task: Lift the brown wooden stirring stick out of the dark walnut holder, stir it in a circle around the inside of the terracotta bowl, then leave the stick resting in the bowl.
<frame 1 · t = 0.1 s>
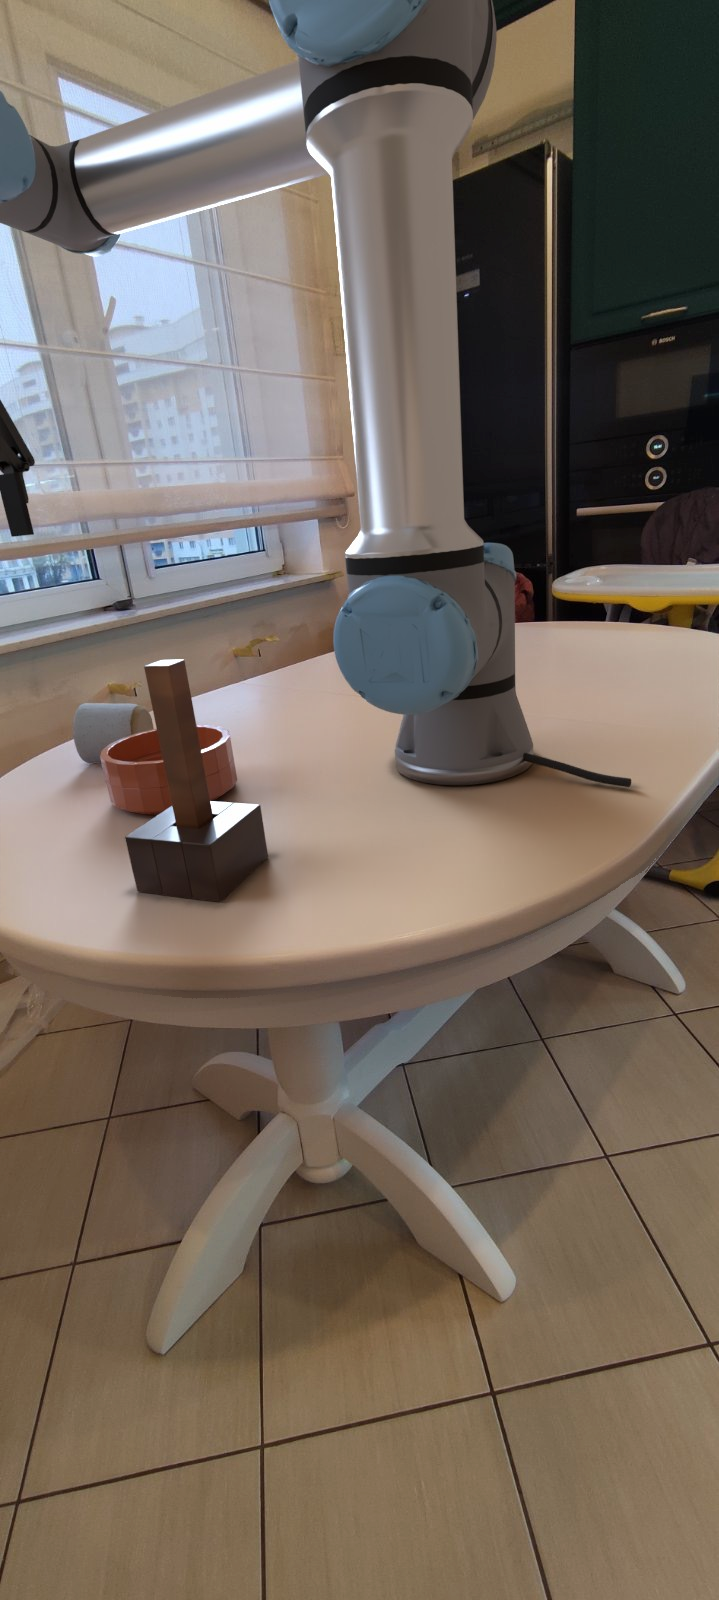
holder: (204, 873, 61), on the table
ceramic mug: (123, 758, 95), on the table
stick: (205, 873, 61), resting in holder
bowl: (176, 794, 80), on the table
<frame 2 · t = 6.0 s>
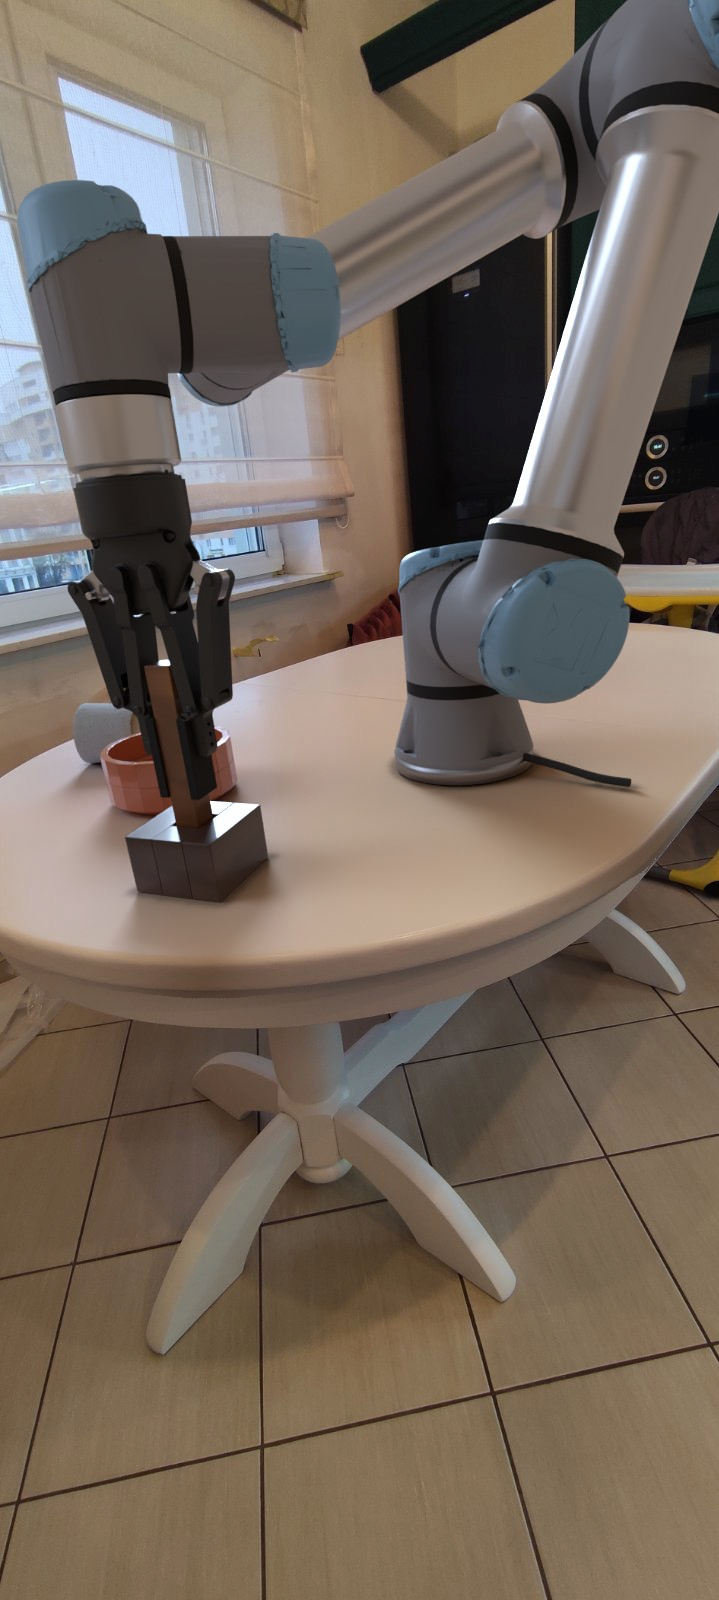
hand: (189, 791, 58), 7 cm above the table, tool pointing down, fingers closed on stick, 2 cm apart
stick: (205, 873, 61), resting in holder, touching gripper
everything else where it was.
when the fingers open (8 cm above the table, at t = 16.3 s): stick stays where it is, resting on bowl.
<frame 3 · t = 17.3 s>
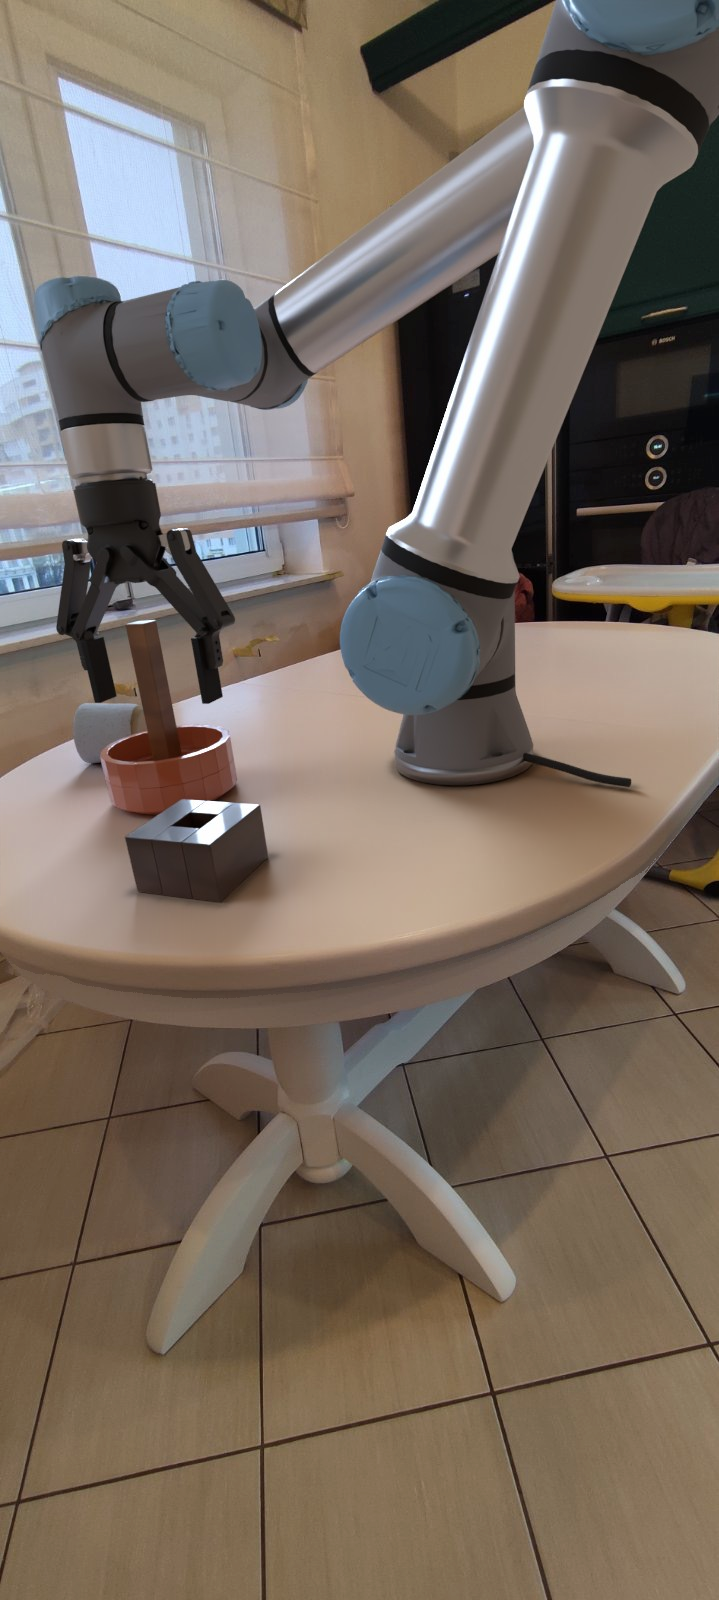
hand: (157, 700, 76), 11 cm above the table, tool pointing down, fingers open, 13 cm apart
stick: (173, 787, 80), point 1 cm above the table, touching bowl
everything else where it was.
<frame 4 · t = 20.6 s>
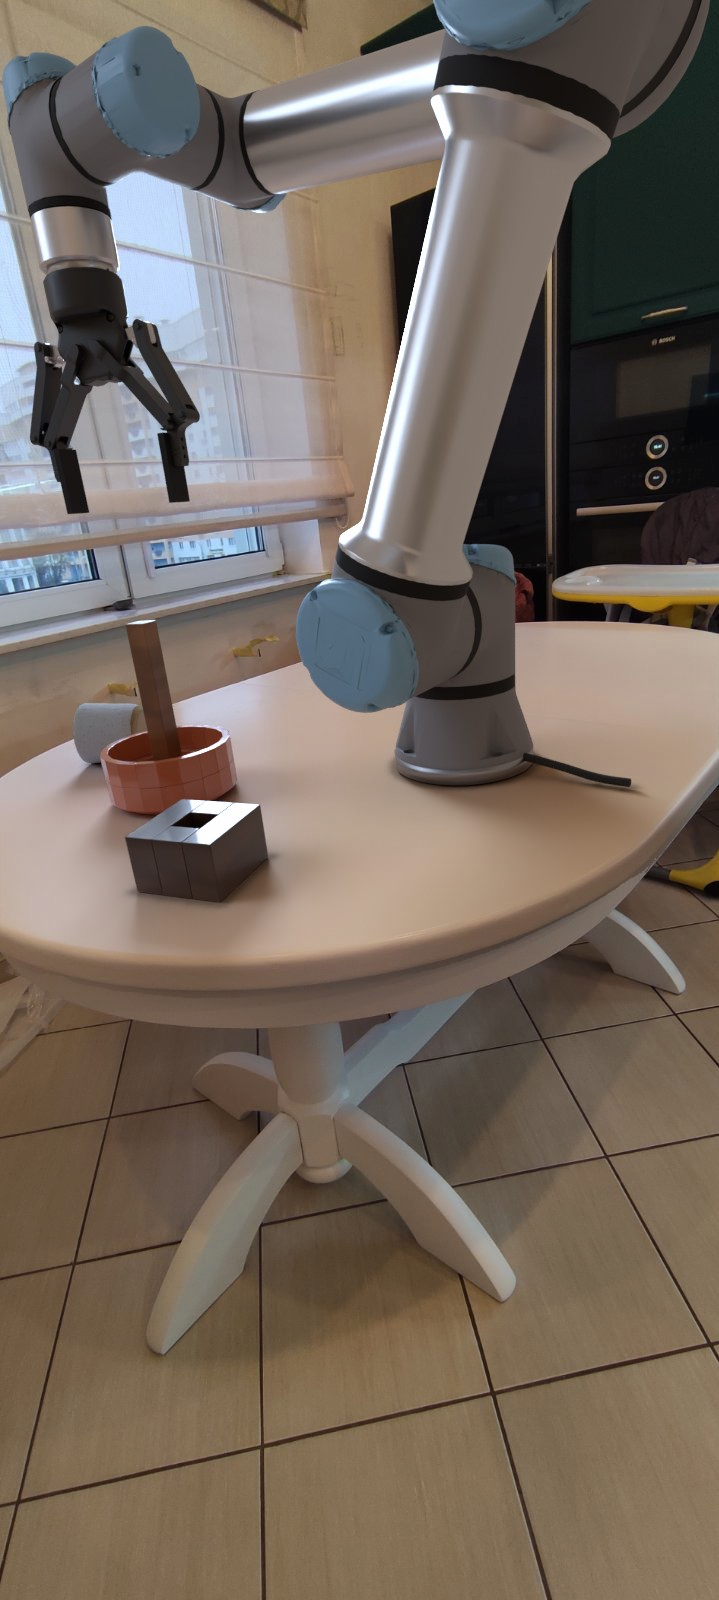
hand: (127, 508, 79), 30 cm above the table, tool pointing down, fingers open, 13 cm apart
nothing on the table moved.
at the end: stick inside the target area in the bowl (0.1 cm from its centre), point 0.8 cm above the bowl's base; stick moved 21.3 cm from its start; the gripper is holding nothing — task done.
